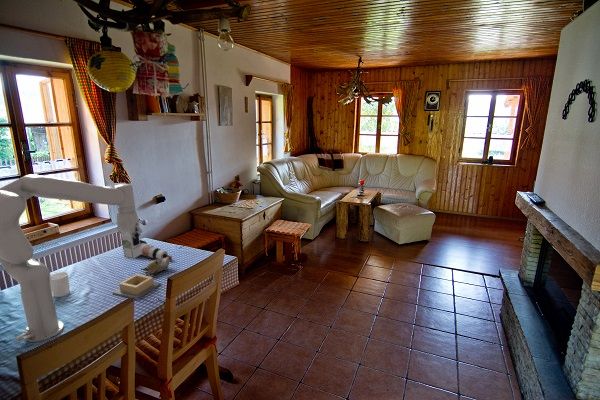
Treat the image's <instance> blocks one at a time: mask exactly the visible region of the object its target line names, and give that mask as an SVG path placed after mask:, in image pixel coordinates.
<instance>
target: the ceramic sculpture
mask: <svg viewBox="0 0 600 400" xmlns="http://www.w3.org/2000/svg"><path fill="white" fill-rule="evenodd" d="M169 265H170V259H169V257H167V258H164V259H162V260H161V259H160V258H154V259H153V260H150V262H149V263H148V264H147V265H146V267H144V268H140V271H145V272H147V273H146V274H145V276H148V277H151V276H153V275H155V274H157V273H159V272H161V271H164V270H165V271H168V269H169Z"/></svg>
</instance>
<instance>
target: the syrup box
mask: <svg viewBox="0 0 600 400" xmlns="http://www.w3.org/2000/svg"><path fill="white" fill-rule="evenodd" d="M135 231H136V230H135ZM135 235H136V233H135ZM120 236H121V241H122V250H123V249H124V250H123V253H124V257H125V258H131V259H135V258H137V257H140V256H139V255H141V254H142V253H141V247H140V240H141V239H140V238H139V244H138V245H136V246H134V245H133V235H132V234H130V233H128V232H125V231H122V230H121V233H120ZM141 256H142V255H141Z"/></svg>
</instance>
